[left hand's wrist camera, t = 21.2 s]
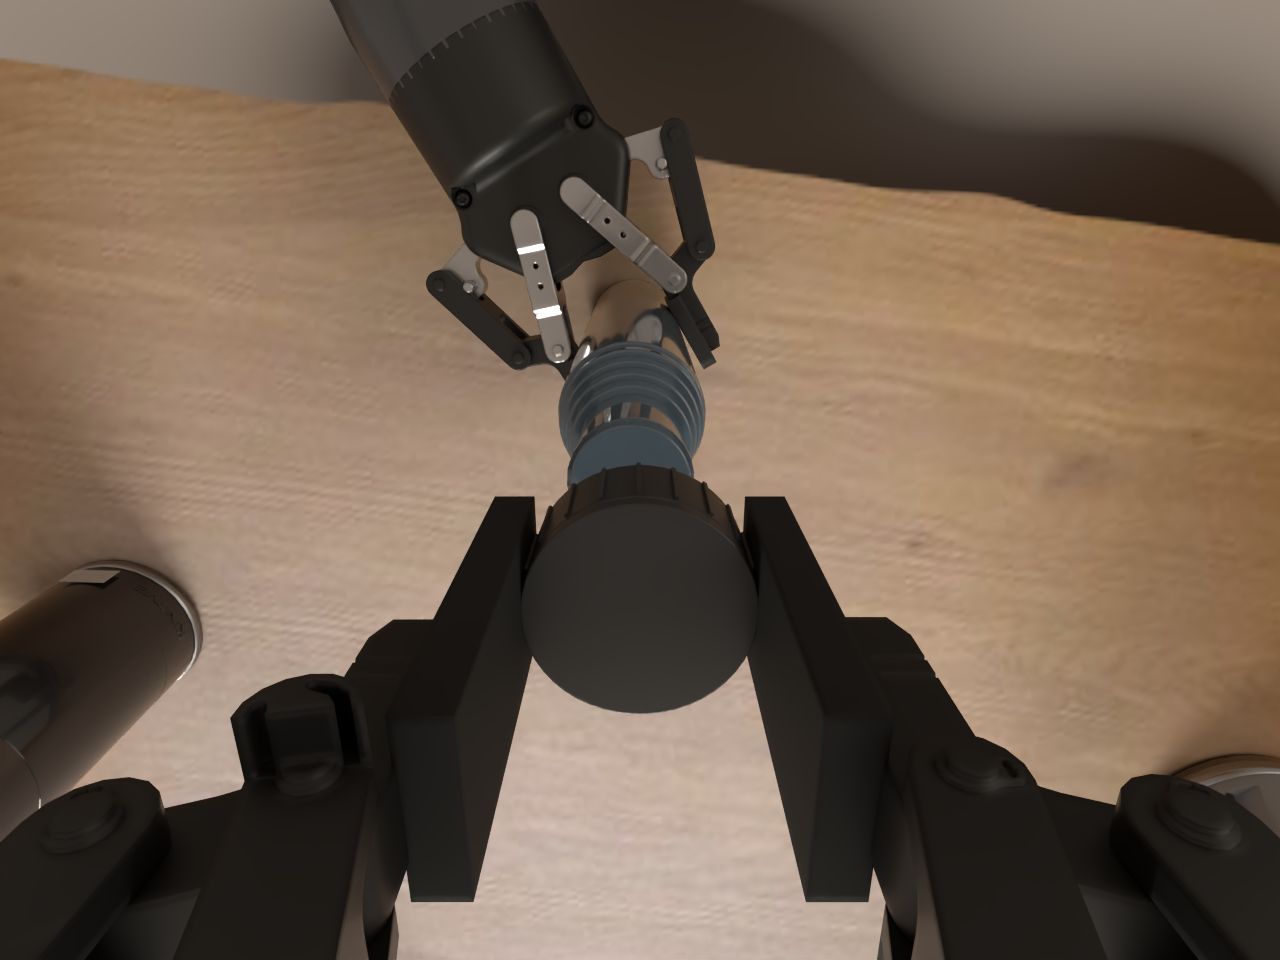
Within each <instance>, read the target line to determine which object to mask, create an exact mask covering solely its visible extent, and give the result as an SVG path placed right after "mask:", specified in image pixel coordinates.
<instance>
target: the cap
mask: <svg viewBox="0 0 1280 960" xmlns="http://www.w3.org/2000/svg"><path fill="white" fill-rule="evenodd" d="M753 571H756V569H755V566H754V563H753V559H752V556H751V553H750V550H749V547H748V544H747V541H746V538H745V535H744V532H741V533H740V530H739V528H738V525H737V523H736V521H735V519H734V517H733V513H732V510H731V507H730V505H729V504H727V505H725V504H724V503H723V501H722V500H721V499H720V498H719V497H718V496H717V495H716V494H715V493H714V492H713V491H712V490H710V489H709V488H708V486H707V483H705V482H704V481H703V482H702V483H701V482H699V481H697V480H695V479H694V478H692V477H690V476H688V475H685V474H683V473H680V472H678V471H676V468H674V467H672V468H671V469H668V468H664V467H658V466H650V465H641V463H636V465H630V466H621V467H616V468H612V469H607V470H606V468H602V470H601V472H599V473H597V474H594V475H591V476H590V477H588V478H586V479H584V480H582V481H580V482H579V483H577V484H575V483H573V484H571V487H570V489H569V490H568V491H567V492H566V493H565V494H564V495H563V496H562V497H561V498H560V499H559V500H558V501H557V502H556V503H555V505H554V506H553V507H552V506H549V507H548V509H547V513H546V516H545V519H544V522H543V524H542V527H541V529H540V531H539V534H535V536H534V539H533V542H532V545H531V549H530V552H529V555H528V558H527V561H526V564H525V567H524V573H526V576H525V579H524V583H523V587H522V591H521V608H522V624H523V634H524V637H525V640H526V643H527V645H528V648H529V650H530V652H531V653H532V655H533V657H534V659H535V661H536V662H537V663H538V665H539V666H540V667H541V669H542V670H543V672H544V673H545V674H546V675H547V676H548V677H549V678H550V679H551V680H552V681H553V682H554V683H555V684H557V685H558V686H559V687H560V688H562V689H563V690H564V691H566V692H567V693H569V694H570V695H572V696H574V697H575V698H577V699H579V700H581V701H583V702H585V703H587V704H590V705H592V706H595V707H598V708H601V709H605V710H609V711H613V712H619V713H628V714H652V713H661V712H666V711H670V710H675V709H678V708H681V707H684V706H687V705H690V704H692V703H694V702H696V701H698V700H701V699H703V698H704V697H706V696H707V695H709V694H711V693H712V692H714V691H715V690H717V689H718V688H719V687H720V686H722V685H723V684H724V683H725V682H726V681H727V680H728V679H729V678H730V677H731V676H732V675H733V674H734V673H735V672H736V671H737V669H738V668H739V667H740V665H741V664H742V663H743V661H744V660H745V658H746V656H747V654H748V652H749V651H750V649H751V647H752V644H753V641H754V639H755V636H756V631H757V616H758V597H759V594H758V589H757V585H756V581H755V577H754V574H753Z"/></svg>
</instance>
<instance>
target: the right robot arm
mask: <svg viewBox="0 0 1280 960" xmlns="http://www.w3.org/2000/svg"><path fill="white" fill-rule="evenodd" d="M330 2H331V4H332V5H333V7H334V9H335V11H336V13H337V16H338V18H339V20H340V22H341V24H342V26H343V28H344V30H345V32H346V34H347V36H348V38H349V40H350V42H351V44H352V46H353V47H354V49H355V51H356V52H357V54H358V56H359V57H360V59H361V60H362V62H363V64H364V65H365V67H366V68H367V70H368V71H369V73H370V74H371V76H372V78H373V79H374V81H375V82H376V84H377V85H378V87H379V89H380V90H381V92H382V93H383V95H384V96H385V98H386V100H387V101H388V103H389V104H390V106H391V107H392V109H393V111H394V112H395V114H396V115H397V117H398V118H399V120H400V121H401V123H402V125H403V126H404V128H405V129H406V131H407V132H408V134H409V135H410V137H411V139H412V140H413V142H414V143H415V145H416V146H417V148H418V149H419V151H420V153H421V154H422V156H423V157H424V159H425V160H426V162H427V164H428V165H429V167H430V168H431V170H432V171H433V173H434V175H435V176H436V178H437V179H438V181H439V182H440V184H441V186H442V187H443V189H444V190H445V192H446V193H447V195H448V197H449V198H450V200H451V201H452V203H453V204H454V206H455V208H456V210H457V212H458V215H459V218H460V221H461V228H462V236H463V240H464V242H465V243H464V244H463V245H462V246H461V247H460V248H459V250H458V251H457V252H456V253H455V254H454V255H453V257H452V258H451V259H450V260H449V261H448V262H447V264H446V265H445V266H444V267H443V268H442V269H440V270H438V271H435V272H432V273H431V274H430V275H429V276H428V278H427V280H426V286H427V289H428V291H429V293H430V294H431V295H432V296H434V297H435V298H436V299H437V300H438V301H439V302H440V303H441V304H442V305H443V306H444V307H446V308H447V309H448V310H449V311H450V312H451V313H452V314H453V315H454V316H455V317H456V318H458V319H459V320H460V321H461V322H462V323H463V324H464V325H465V326H466V327H467V328H468V329H470V330H471V331H472V332H473V333H474V334H475V335H476V336H477V337H478V338H479V339H480V340H482V341H483V342H484V343H485V344H486V345H487V346H488V347H489V348H490V349H491V350H492V351H493V352H495V353H496V354H497V355H498V356H499V357H500V358H501V359H502V360H503V361H504V362H505V363H507V364H508V365H509V366H510V367H511V368H513V369H515V370H523V369H525V368H527V367H530V366H535V365H540V364H549V365H552V366H554V367H555V368H556V369H557V370H558V371H559V372H560V374H561V375H562V377H563V378H564V380H565V381H566V379H567V376H568V374H569V371H570V369H571V366H572V363H573V361H574V358H575V356H576V353H577V351H578V348H579V347H578V346H577V344H576V342H575V340H574V335H573V331H572V327H571V322H570V318H569V314H568V310H567V305H566V297H565V292H564V288H563V284H562V280H564V279H566V278H567V277H569V276H570V275H572V274H573V272H574V271H575V270H576V269H577V268H578V267H579V266H580V265H581V264H582V263H583V262H584V261H587V260H591V259H594V258H598V257H601V256H602V255H604V254H606V253H607V252H609V251H610V250H612V249H614V248H615V247H616V248H617V249H618V250H619V251H621V252H622V253H623V254H624V255H625V256H626V257H627V258H628V259H630V260H631V261H632V262H633V263H635V264H636V265H637V266H638V267H640V268H641V269H642V270H643V271H644V272H645V273H646V274H648V275H649V276H650V277H651V278H652V279H653V280H654V281H656V282H657V283H658V284H659V285H660V286H661V287H662V289H663V290H664V292H665V294H666V296H665V297H664V298H665V302H666V304H667V306H668V308H669V309H670V311H671V313H672V315H673V316H674V318H675V319H676V321H677V323H678V325H679V327H680V329H681V330H682V332H683V334H684V336H685V337H686V339H687V341H688V343H689V344H690V346H691V348H692V350H693V351H694V353H695V355H696V357H697V358H698V360H699V362H700V364H701V365H702V367H703V369H705V368H707V367H709V366H711V365H712V364H714V363H716V360H715V358H714V356H713V354H712V353H711V351H712V350H714V349H716V348H717V347H719V346H720V344H719V336H718V333H717V332H716V330H715V328H714V326H713V324H712V322H711V321H710V319H709V317H708V315H707V313H706V312H705V310H704V308H703V306H702V304H701V303H700V301H699V299H698V297H697V295H696V294H695V292H694V290H693V286H692V280H693V276H694V274H695V272H696V271H697V270H698V269H699V267H700V266H701V265H702V264H703V262H704V261H705V260H706V259H708V258H710V257H711V256H712V254H713V253H714V250H715V242H714V237H713V233H712V229H711V225H710V221H709V216H708V212H707V208H706V204H705V200H704V195H703V191H702V187H701V183H700V178H699V174H698V170H697V166H696V162H695V157H694V153H693V149H692V145H691V141H690V136H689V132H688V128H687V126H686V124H685V123H684V122H683V121H682V120H680V119H677V118H672V119H669V120H667V121H666V122H665V123H664V124H663V125H662V126H661V127H658V128H655V129H652V130H648V131H645V132H642V133H639V134H636V135H632V136H629V137H626V138H624V137H623V136H622V135H621V134H620V133H619V132H618V131H616V130H614V129H613V128H611V127H610V126H608V125H607V124H606V123H605V122H604V121H603V120H602V119H601V118H600V116H599V115H598V113H597V111H596V109H595V108H594V106H593V104H592V102H591V100H590V99H589V97H588V95H587V93H586V91H585V90H584V88H583V86H582V84H581V82H580V80H579V79H578V77H577V75H576V73H575V71H574V70H573V68H572V66H571V64H570V62H569V60H568V59H567V57H566V55H565V53H564V51H563V50H562V48H561V46H560V44H559V42H558V41H557V39H556V37H555V35H554V33H553V32H552V30H551V28H550V26H549V24H548V23H547V21H546V19H545V18H544V16H543V14H542V12H541V10H540V8H539V6H538V5H537V3H536V1H535V0H330ZM631 160H639V161H641V162H643V163H644V164H645V165H646V166H647V168H648V170H649V173H650V174H651V175H652V176H653V177H654V178H656V179H666V178H668V180H669V184H670V188H671V192H672V196H673V200H674V204H675V208H676V212H677V216H678V220H679V224H680V228H681V232H682V236H683V240H684V241H683V242H682V244H681V245H680V246H679V247H678V249H677V250H676V251H675V252H674V254H673V255H672V256H671V257H670V256H669V255H668V254H667V253H666V252H665V251H664V250H662V249H661V248H660V247H659V246H658V245H657V244H656V243H655V242H654V241H652V240H651V239H650V238H649V237H648V236H647V235H646V234H645V233H644V232H643V231H642V230H640V229H639V228H638V227H637V226H636V225H635V224H634V223H633V222H631V221H630V220H629V219H628V218H627V217H626V212H627V199H628V187H629V175H630V162H631ZM623 233H625V234H626V235H623ZM482 258H483V259H485V260H487V261H490V262H492V263H494V264H497V265H499V266H501V267H504V268H506V269H508V270H510V271H513V272H515V273H517V274H520V275H522V276H524V277H525V281H526V285H527V289H528V293H529V297H530V301H531V304H532V308H533V312H534V314H535V316H536V318H537V321H538V325H539V329H540V333H541V334H540V335H535V336H529V335H528V334H527V333H526V332H525V331H524V330H523V329H522V328H521V327H520V326H518V325H517V324H516V323H515V322H514V321H513V320H512V319H511V318H510V317H509V316H508V315H507V314H506V313H505V312H504V311H502V310H501V309H500V308H499V307H498V306H497V305H496V304H495V303H494V302H493V301H492V300H491V299H490V298H489V297H488V296H487V295H485V294H484V293H485V292H486V290H487V288H488V282H487V279H486V277H485V276H484V275H483V273H482V271H481V269H480V261H481V259H482ZM58 582H59V583H58V584H57V585H55V586H53V587H52V588H50V589H49V590H47V591H46V592H44V593H43V594H41V595H40V596H38V597H36V598H35V599H33V600H31V601H30V602H28V603H27V604H25V605H24V606H22V607H21V608H19V609H18V610H16V611H15V612H13V613H12V614H10V615H8V616H7V617H5V618H4V619H2V620H1V621H0V842H1V841H2V840H3V839H4V838H5V837H6V836H7V835H8V834H9V833H10V832H11V831H13V830H14V829H15V828H16V827H17V826H18V825H19V824H20V823H21V822H22V821H24V820H25V819H26V818H28V817H29V816H30V815H32V814H33V813H34V812H35V811H37V810H38V809H39V808H41V807H42V806H43V805H45V804H46V803H48V802H50V801H52V800H54V799H56V798H58V797H60V796H62V795H64V794H66V793H68V792H69V791H70V790H71V789H72V788H73V787H74V786H75V785H76V784H77V783H78V782H79V781H80V780H81V779H82V778H83V777H84V776H85V775H86V774H87V773H88V772H89V771H90V770H91V768H92V767H93V766H94V765H95V764H96V763H97V762H98V761H99V760H100V759H101V758H102V757H103V756H104V755H105V754H106V753H107V752H108V751H109V750H110V749H111V748H112V747H113V746H114V745H115V744H116V743H117V741H118V740H119V739H120V738H121V737H122V736H123V735H124V734H125V733H126V732H127V731H128V730H129V729H130V728H131V727H132V726H133V725H134V724H135V723H136V722H137V721H138V720H139V719H140V718H141V717H142V715H143V714H144V713H145V712H146V711H147V710H148V709H149V708H150V707H151V706H152V705H153V704H154V703H155V702H156V701H157V700H158V699H159V698H160V697H161V696H162V695H163V694H164V693H165V692H166V691H167V690H168V689H169V688H170V687H171V686H172V685H173V683H174V682H176V681H177V680H179V679H180V678H181V677H182V676H183V675H184V674H185V673H186V672H187V671H188V670H189V669H190V668H191V667H192V666H193V665H194V663H195V662H196V660H197V658H198V657H199V654H200V652H201V648H202V642H203V633H202V626H201V622H200V619H199V616H198V614H197V612H196V610H195V608H194V606H193V604H192V603H191V601H190V600H189V599H188V597H187V596H186V595H185V594H184V593H183V592H182V591H181V590H180V589H179V587H177V586H176V585H175V584H174V583H173V582H171V581H170V580H169V579H167V578H166V577H164V576H163V575H161V574H160V573H158V572H156V571H154V570H152V569H149V568H147V567H145V566H142V565H139V564H135V563H131V562H126V561H118V560H105V561H97V562H93V563H89V564H86V565H84V566H81V567H80V568H78V569H76V570H74V571H73V572H71V573H70V574H68V575H67V576H65V577H63V578H62V579H60V580H59V581H58Z"/></svg>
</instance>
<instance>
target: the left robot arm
mask: <svg viewBox="0 0 1280 960" xmlns="http://www.w3.org/2000/svg"><path fill="white" fill-rule="evenodd" d="M743 532H744V535H745V538H746V541H747V544H748V547H749V550H750V553H751V556H752V559H753V563H754V566H755V569H756V571H753V574H754V577H755V581H756V585H757V589H758V594H759V597H758V616H757V631H756V636H755V639H754V641H753V644H752V647H751V649H750V651H749V652H748V654H747V658H748V662H749V666H750V670H751V674H752V679H753V683H754V687H755V691H756V695H757V699H758V704H759V708H760V712H761V716H762V720H763V724H764V729H765V733H766V737H767V741H768V745H769V749H770V754H771V758H772V762H773V766H774V770H775V775H776V779H777V783H778V787H779V791H780V795H781V800H782V804H783V808H784V812H785V816H786V820H787V825H788V829H789V833H790V837H791V841H792V845H793V850H794V854H795V858H796V862H797V866H798V871H799V875H800V879H801V883H802V887H803V891H804V896H805V900H806V902H868V901H869V894H870V887H871V880H872V873H873V867H874V870H875V873H876V876H877V879H878V882H879V884H880V887H881V890H882V893H883V896H884V898H885V901H886V904H885V911H884V917H883V924H882V930H881V937H880V943H879V950H878V956H877V960H1280V759H1279V758H1274V757H1269V756H1261V755H1238V756H1230V757H1224V758H1219V759H1215V760H1211V761H1207V762H1204V763H1201V764H1198V765H1196V766H1193V767H1191V768H1188V769H1186V770H1184V771H1182V772H1180V773H1178V774H1176V775H1174V776H1166V775H1156V774H1149V775H1144V776H1139V777H1134V778H1131V779H1130V780H1129V781H1128V782H1127V783H1126V784H1125V785H1124V786H1123V787H1122V788H1121V790H1120V793H1119V797H1118V800H1117V804H1116V805H1112V804H1108V803H1104V802H1099V801H1095V800H1090V799H1086V798H1081V797H1077V796H1073V795H1068V794H1064V793H1060V792H1056V791H1053V790H1050V789H1046V788H1043V787H1040V786H1038V785H1037V783H1036V780H1035V779H1034V777H1033V776H1032V774H1031V773H1030V771H1029V770H1028V769H1027V767H1026V766H1025V764H1024V763H1023V762H1021V761H1020V760H1019V759H1018V758H1016V757H1015V756H1014V755H1013V754H1011V753H1010V752H1009V751H1008V750H1006V749H1005V748H1003V747H1000V746H998V745H996V744H994V743H992V742H990V741H988V740H986V739H984V738H980V737H976V736H975V735H974V733H973V732H972V730H971V729H970V727H969V725H968V724H967V722H966V721H965V719H964V718H963V716H962V714H961V713H960V711H959V710H958V708H957V707H956V705H955V703H954V702H953V700H952V699H951V697H950V696H949V694H948V692H947V691H946V689H945V688H944V686H943V685H942V683H941V681H940V680H939V678H936V676H935V672H934V670H933V669H932V667H931V666H930V664H929V663H928V661H927V660H925V659H924V655H923V653H922V652H921V650H920V649H919V647H918V645H917V644H916V642H915V641H914V639H913V638H912V636H911V635H910V634H909V633H907V632H906V631H905V630H903V629H902V628H900V627H899V626H898V625H896V624H895V623H894V622H892V621H891V620H889V619H888V618H887V617H845V616H844V614H843V612H842V610H841V608H840V606H839V604H838V602H837V600H836V598H835V596H834V594H833V592H832V590H831V588H830V586H829V584H828V582H827V580H826V578H825V576H824V574H823V572H822V570H821V568H820V566H819V564H818V562H817V560H816V558H815V556H814V554H813V552H812V550H811V548H810V546H809V544H808V542H807V540H806V538H805V536H804V534H803V532H802V530H801V528H800V526H799V524H798V522H797V521H796V519H795V517H794V515H793V513H792V511H791V509H790V507H789V505H788V503H787V501H786V499H785V497H745V508H744V527H743ZM535 534H536V517H535V498H534V497H495V498H494V500H493V502H492V504H491V506H490V508H489V510H488V512H487V514H486V516H485V517H484V519H483V521H482V523H481V525H480V527H479V529H478V531H477V533H476V535H475V537H474V539H473V541H472V543H471V545H470V547H469V549H468V551H467V553H466V555H465V557H464V559H463V561H462V563H461V565H460V567H459V569H458V571H457V573H456V575H455V577H454V579H453V581H452V583H451V585H450V587H449V589H448V591H447V593H446V595H445V597H444V599H443V601H442V603H441V605H440V607H439V609H438V611H437V613H436V615H435V617H434V619H433V620H392V621H391V622H389V623H388V624H387V625H385V626H384V627H383V628H381V629H380V630H378V631H377V632H376V633H374V634H373V635H372V636H370V637H369V638H368V640H367V641H366V643H365V644H364V646H363V648H362V649H361V651H360V652H359V654H358V655H357V657H356V661H355V663H352V665H351V667H350V668H349V670H348V671H347V673H346V674H345V676H344V677H342V676H339V675H335V674H308V675H303V676H299V677H294V678H289V679H285V680H283V681H280V682H278V683H275V684H273V685H271V686H268V687H266V688H263V689H261V690H260V691H259V692H257V693H256V694H254V695H253V696H251V697H250V698H248V699H247V700H245V701H244V702H243V703H242V704H241V705H240V706H239V708H238V709H237V710H236V711H235V713H234V714H233V715H232V716H231V718H230V719H231V724H232V728H233V732H234V737H235V741H236V746H237V750H238V754H239V759H240V763H241V767H242V772H243V776H244V780H245V782H244V784H243V786H242V789H240V790H237V791H234V792H231V793H227V794H224V795H221V796H217V797H212V798H208V799H204V800H199V801H195V802H190V803H186V804H182V805H177V806H173V807H168V808H164V806H163V803H162V799H161V795H160V792H159V791H158V790H157V789H156V788H155V787H154V786H153V785H152V784H151V783H150V782H149V781H145V780H140V779H135V778H130V777H127V778H118V779H108V780H102V781H99V782H95V783H92V784H89V785H85V786H83V787H80V788H76V789H74V790H72V791H70V792H68V793H66V794H64V795H62V796H60V797H58V798H56V799H54V800H52V801H50V802H48V803H46V804H45V805H43V806H42V807H41V808H39V809H38V810H37V811H35V812H34V813H33V814H32V815H30V816H29V817H28V818H26V819H25V820H24V821H22V822H21V823H20V824H19V825H18V826H17V827H16V828H15V829H14V830H13V831H11V832H10V833H9V834H8V835H7V836H6V837H5V838H4V839H3V840H2V841H1V842H0V960H396V958H397V948H398V939H399V933H398V925H397V917H396V911H395V901H396V898H397V895H398V892H399V890H400V887H401V884H402V881H403V878H404V875H405V873H406V870H407V876H408V883H409V890H410V897H411V902H474V898H475V893H476V889H477V885H478V881H479V877H480V873H481V868H482V864H483V860H484V856H485V852H486V848H487V843H488V839H489V835H490V831H491V827H492V823H493V818H494V814H495V810H496V806H497V802H498V798H499V793H500V789H501V785H502V781H503V777H504V772H505V768H506V764H507V760H508V756H509V752H510V747H511V743H512V739H513V735H514V731H515V727H516V722H517V718H518V714H519V710H520V706H521V702H522V697H523V693H524V689H525V685H526V681H527V676H528V672H529V668H530V664H531V660H532V656H533V655H532V653H531V652H530V650H529V648H528V645H527V643H526V640H525V637H524V634H523V624H522V608H521V591H522V587H523V583H524V579H525V576H526V573H524V567H525V564H526V561H527V558H528V555H529V552H530V549H531V545H532V542H533V539H534V536H535Z"/></svg>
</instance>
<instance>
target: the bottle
mask: <svg viewBox="0 0 1280 960" xmlns="http://www.w3.org/2000/svg"><path fill="white" fill-rule="evenodd" d="M665 296H666V295H665V294H664V293H663V292H662V291H661V290H660V289H659V288H658V287H656V286H655V285H653V284H651V283H649V282H646V281H642V280H625V281H621V282H618V283H616V284H614V285H612V286H611V287H609V288H608V289H607V290H606V291H605V292H604V293H603V294H602V295H601V296H600V298H599V299H598V301H597V303H596V305H595V308H594V310H593V313H592V315H591V318H590V320H589V323H588V325H587V328H586V330H585V333H584V335H583V338H582V341H581V343H580V346H579V348H578V351H577V353H576V356H575V358H574V361H573V363H572V366H571V369H570V371H569V374H568V376H567V379H566V381H565V384H564V386H563V389H562V392H561V396H560V400H559V409H558V412H559V428H560V433H561V437H562V440H563V444H564V446H565V448H566V450H567V452H568V454H569V455H570V458H571V460H570V462H569V466H568V476H567V486H568V490H569V489H570V487H571V484H573V483H575V484H577V483H579V482H580V481H582V480H584V479H586V478H588V477H590V476H591V475H594V474H597V473H599V472H601V470H602V468H606V470H607V469H612V468H616V467H621V466H630V465H636V463H641V465H650V466H658V467H664V468H668V469H671V468H672V467H674V468H676V471H678V472H680V473H683V474H685V475H688V476H690V477H692V478H694V470H693V465H692V459H693V457H694V455H695V453H696V452H697V450H698V447H699V445H700V443H701V440H702V436H703V432H704V425H705V401H704V397H703V393H702V389H701V386H700V384H699V381H698V378H697V375H696V372H695V370H694V367H693V364H692V361H691V358H690V355H689V353H688V350H687V347H686V344H685V341H684V338H683V336H682V333H681V330H680V327H679V325H678V323H677V321H676V319H675V318H674V316H673V315H672V313H671V311H670V309H669V308H668V306H667V304H666V302H665V298H664V297H665Z"/></svg>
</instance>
